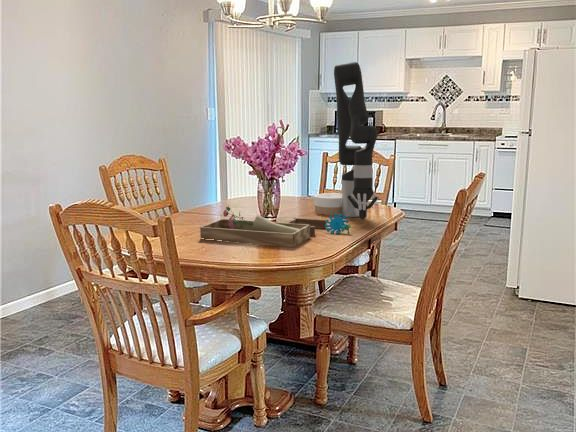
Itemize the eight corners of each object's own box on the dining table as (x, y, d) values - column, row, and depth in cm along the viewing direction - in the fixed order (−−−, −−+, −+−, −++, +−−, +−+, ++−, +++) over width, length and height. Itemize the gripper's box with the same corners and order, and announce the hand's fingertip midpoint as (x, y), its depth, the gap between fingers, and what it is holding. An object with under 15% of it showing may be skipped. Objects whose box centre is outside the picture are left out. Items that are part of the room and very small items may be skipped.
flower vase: (291, 261, 224) (213, 235, 235) (303, 245, 234) (227, 221, 244) (294, 236, 218) (213, 211, 229) (306, 220, 228) (228, 197, 238)
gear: (320, 229, 238) (330, 210, 242) (324, 237, 242) (334, 218, 246) (344, 235, 232) (354, 215, 236) (347, 243, 237) (357, 223, 241)
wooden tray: (222, 230, 247) (221, 218, 246) (310, 236, 231) (310, 224, 230) (199, 239, 230) (199, 227, 229) (293, 247, 214) (293, 234, 214)
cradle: (295, 225, 254) (295, 217, 253) (326, 227, 248) (326, 219, 248) (280, 233, 239) (280, 224, 238) (313, 235, 234) (313, 227, 233)
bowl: (350, 215, 277) (351, 198, 275) (315, 215, 277) (315, 198, 276) (348, 208, 294) (348, 192, 292) (314, 209, 294) (314, 193, 292)
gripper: (381, 175, 230) (381, 218, 233) (350, 174, 235) (349, 216, 238) (377, 177, 224) (376, 221, 227) (344, 176, 229) (344, 219, 232)
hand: (362, 218), depth 232 cm, fingers closed
